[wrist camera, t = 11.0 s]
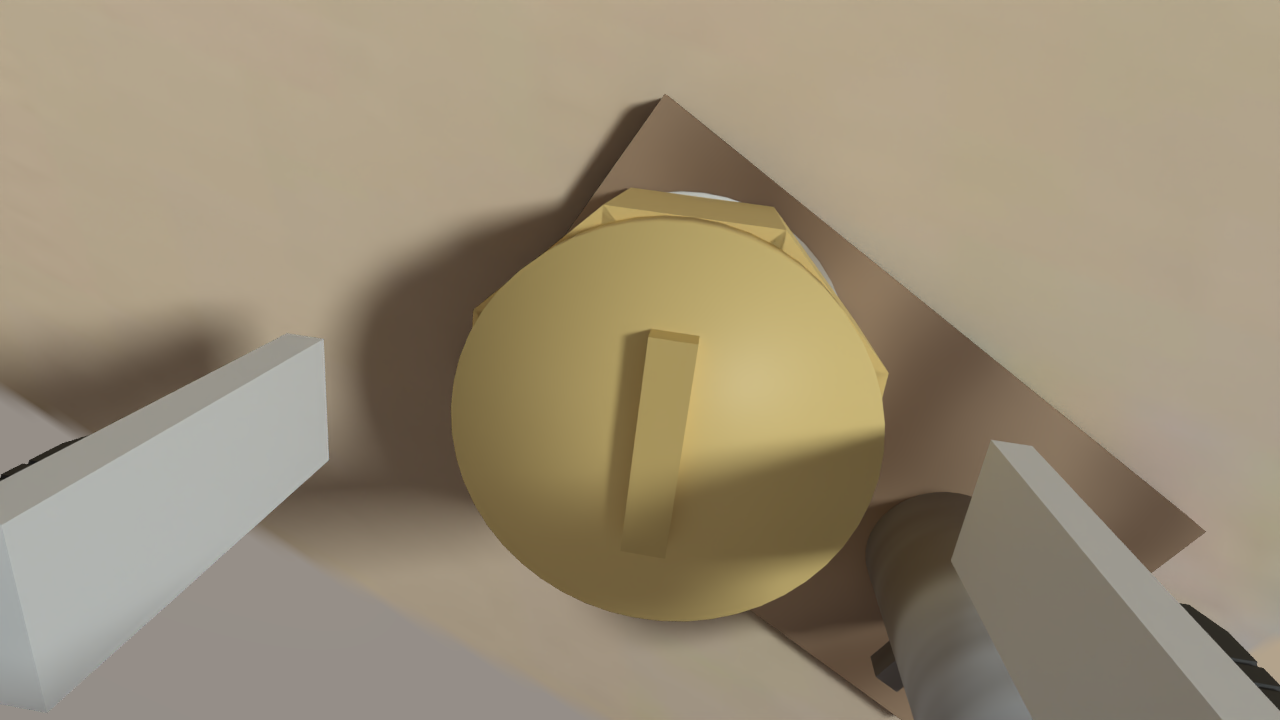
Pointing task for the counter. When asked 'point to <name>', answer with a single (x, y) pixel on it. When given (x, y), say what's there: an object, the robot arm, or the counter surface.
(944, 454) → the post board
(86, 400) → the counter surface
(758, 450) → the cap
